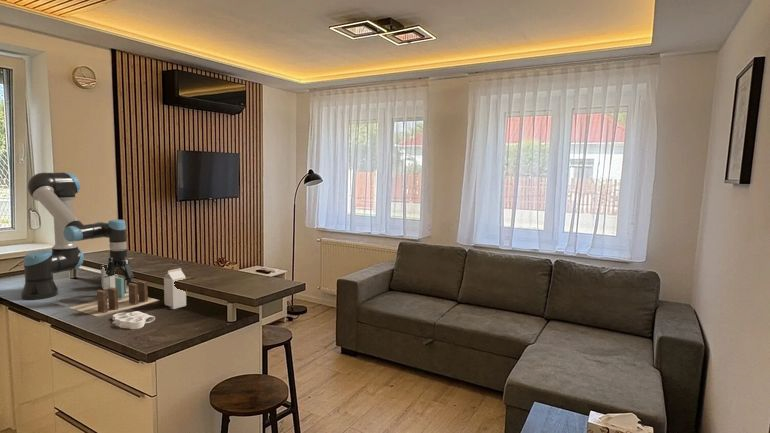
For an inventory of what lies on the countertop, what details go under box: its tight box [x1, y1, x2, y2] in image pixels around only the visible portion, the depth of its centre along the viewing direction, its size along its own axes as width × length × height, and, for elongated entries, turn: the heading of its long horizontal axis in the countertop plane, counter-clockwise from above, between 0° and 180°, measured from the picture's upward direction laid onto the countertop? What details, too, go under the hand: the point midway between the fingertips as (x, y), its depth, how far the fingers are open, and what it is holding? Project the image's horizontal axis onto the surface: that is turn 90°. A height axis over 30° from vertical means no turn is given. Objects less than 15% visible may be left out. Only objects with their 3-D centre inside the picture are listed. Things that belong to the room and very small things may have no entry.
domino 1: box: [96, 289, 108, 313], centre depth 206 cm, size 2×5×10 cm, turn 62°
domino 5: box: [137, 280, 149, 302], centre depth 223 cm, size 2×5×10 cm, turn 62°
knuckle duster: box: [111, 310, 156, 330], centre depth 196 cm, size 3×18×15 cm
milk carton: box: [163, 267, 187, 310], centre depth 219 cm, size 7×7×19 cm
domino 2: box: [107, 287, 118, 310], centre depth 210 cm, size 2×5×10 cm, turn 62°
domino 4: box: [128, 282, 139, 305], centre depth 219 cm, size 2×5×10 cm, turn 62°
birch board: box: [67, 292, 160, 318], centre depth 218 cm, size 26×30×1 cm
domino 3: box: [115, 276, 126, 298], centre depth 229 cm, size 2×5×10 cm, turn 62°
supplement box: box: [100, 267, 119, 291], centre depth 250 cm, size 7×7×13 cm
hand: (120, 289), depth 229 cm, fingers open, 13 cm apart
